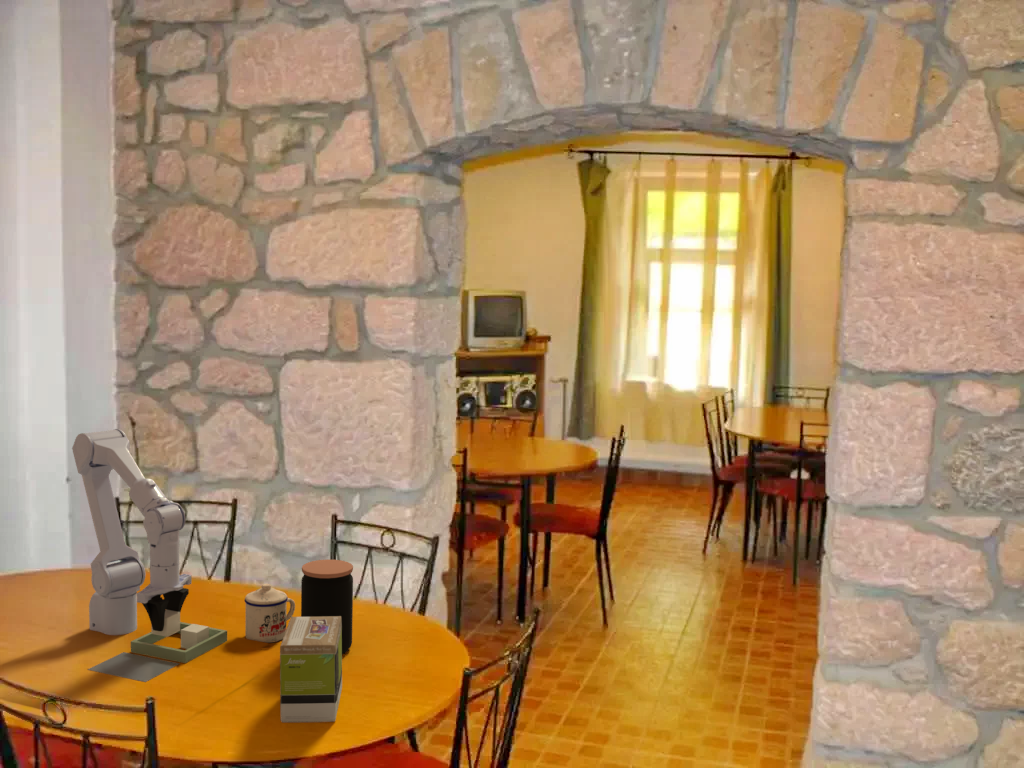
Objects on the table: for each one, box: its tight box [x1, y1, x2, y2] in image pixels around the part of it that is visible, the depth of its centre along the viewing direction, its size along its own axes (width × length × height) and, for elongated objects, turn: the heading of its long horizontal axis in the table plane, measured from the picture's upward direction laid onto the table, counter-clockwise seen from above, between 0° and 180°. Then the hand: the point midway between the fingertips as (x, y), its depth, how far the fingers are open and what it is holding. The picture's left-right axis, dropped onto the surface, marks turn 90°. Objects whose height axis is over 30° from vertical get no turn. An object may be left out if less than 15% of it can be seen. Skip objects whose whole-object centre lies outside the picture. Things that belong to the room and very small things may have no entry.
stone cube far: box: [180, 623, 210, 650], centre depth 214 cm, size 4×4×4 cm
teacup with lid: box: [244, 583, 296, 644], centre depth 223 cm, size 12×9×12 cm
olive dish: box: [130, 621, 228, 664], centre depth 214 cm, size 14×14×3 cm
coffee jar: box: [300, 559, 354, 655], centre depth 216 cm, size 11×11×18 cm
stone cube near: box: [151, 610, 181, 638], centre depth 213 cm, size 4×4×4 cm
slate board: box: [87, 651, 181, 683], centre depth 203 cm, size 14×10×1 cm
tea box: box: [279, 615, 343, 723], centre depth 189 cm, size 15×10×15 cm
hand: (165, 626), depth 213 cm, fingers closed on stone cube near, 4 cm apart
